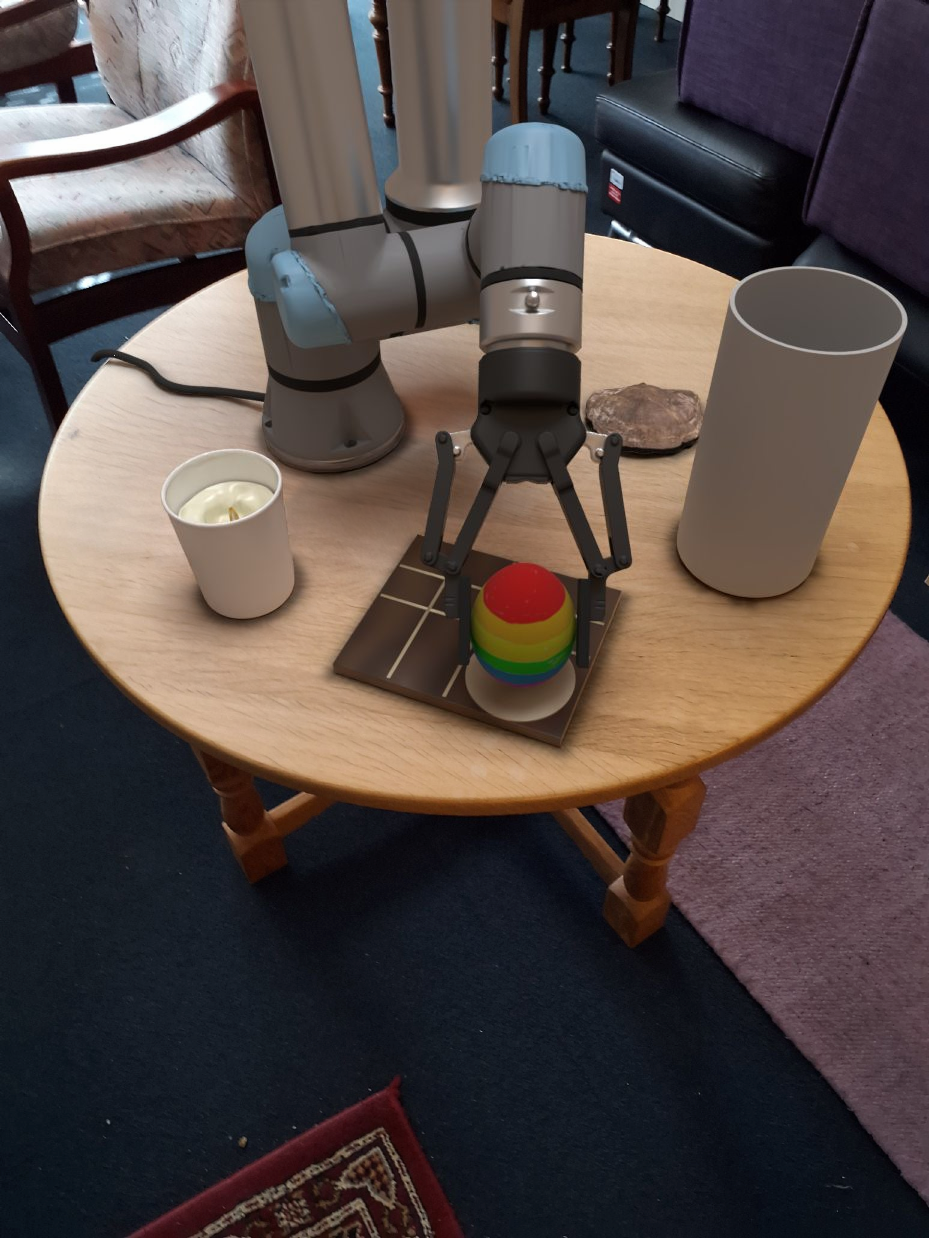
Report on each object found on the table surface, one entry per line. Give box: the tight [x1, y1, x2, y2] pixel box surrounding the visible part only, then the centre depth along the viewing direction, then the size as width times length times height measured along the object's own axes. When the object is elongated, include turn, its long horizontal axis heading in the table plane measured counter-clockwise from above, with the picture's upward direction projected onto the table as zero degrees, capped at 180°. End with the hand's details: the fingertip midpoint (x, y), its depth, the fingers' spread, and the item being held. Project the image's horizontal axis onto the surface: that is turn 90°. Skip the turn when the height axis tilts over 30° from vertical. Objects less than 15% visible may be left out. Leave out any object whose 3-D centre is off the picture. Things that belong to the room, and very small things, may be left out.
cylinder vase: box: [676, 265, 908, 599], centre depth 75 cm, size 12×12×25 cm
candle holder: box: [160, 448, 296, 620], centre depth 78 cm, size 10×10×12 cm
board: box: [332, 534, 622, 748], centre depth 77 cm, size 20×17×1 cm
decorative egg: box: [470, 561, 577, 687], centre depth 68 cm, size 8×8×10 cm
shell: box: [585, 382, 704, 455], centre depth 96 cm, size 12×13×4 cm
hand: (522, 664), depth 67 cm, fingers closed on decorative egg, 8 cm apart
